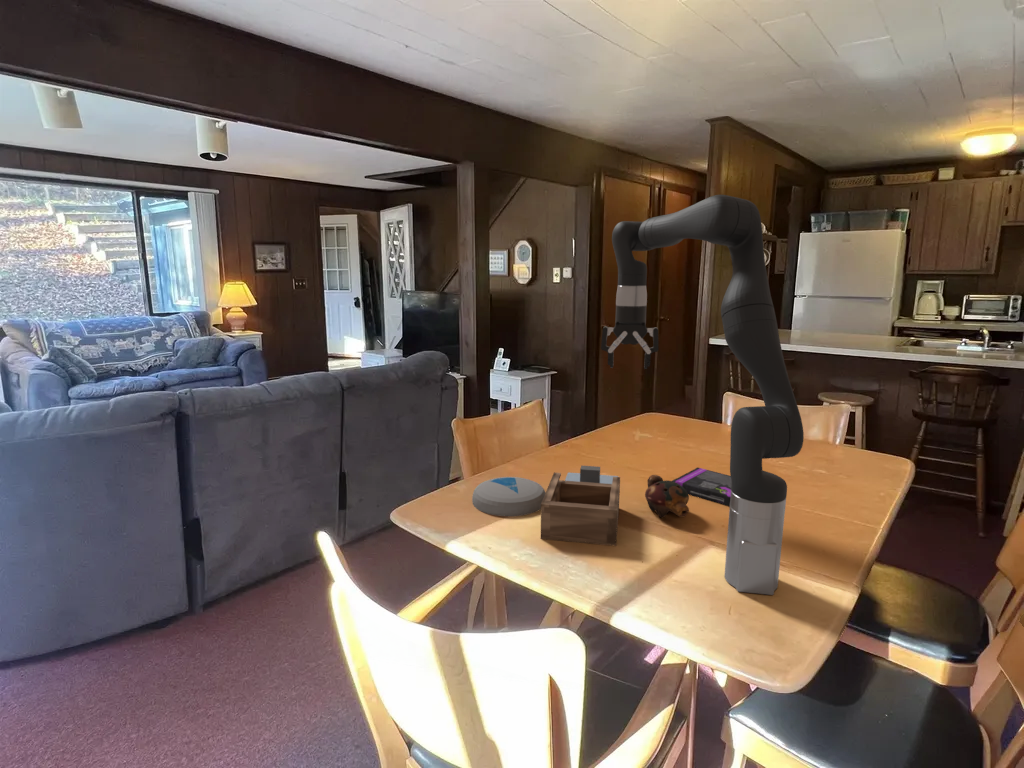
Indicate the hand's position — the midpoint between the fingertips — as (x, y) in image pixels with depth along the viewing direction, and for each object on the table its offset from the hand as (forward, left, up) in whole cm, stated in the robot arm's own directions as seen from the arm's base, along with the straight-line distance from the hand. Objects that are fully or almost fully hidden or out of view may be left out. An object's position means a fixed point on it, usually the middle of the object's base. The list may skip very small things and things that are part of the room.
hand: (628, 367), depth 149 cm
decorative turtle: (-16, -10, -32) cm, 37 cm away
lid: (-2, +9, -33) cm, 34 cm away
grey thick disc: (-16, +28, -33) cm, 46 cm away
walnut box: (-25, +9, -32) cm, 42 cm away
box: (+1, -24, -33) cm, 41 cm away
